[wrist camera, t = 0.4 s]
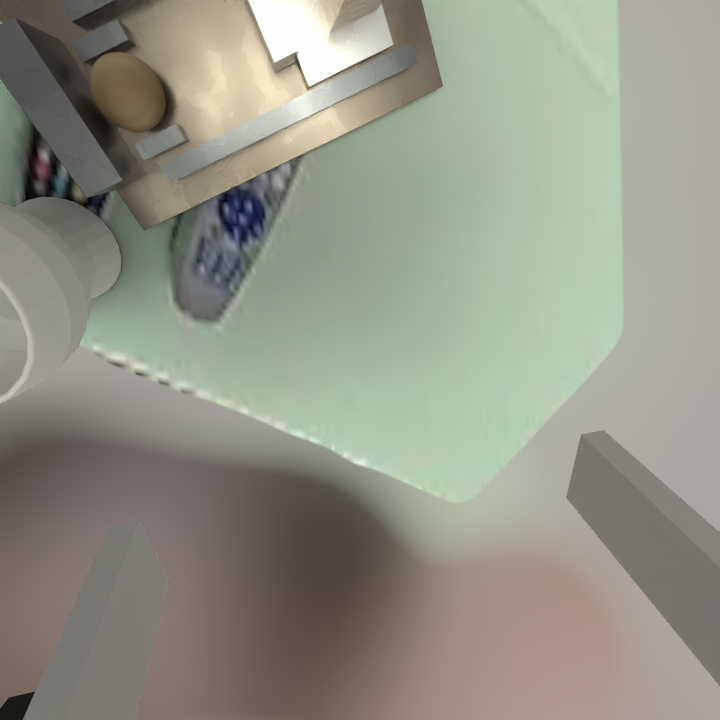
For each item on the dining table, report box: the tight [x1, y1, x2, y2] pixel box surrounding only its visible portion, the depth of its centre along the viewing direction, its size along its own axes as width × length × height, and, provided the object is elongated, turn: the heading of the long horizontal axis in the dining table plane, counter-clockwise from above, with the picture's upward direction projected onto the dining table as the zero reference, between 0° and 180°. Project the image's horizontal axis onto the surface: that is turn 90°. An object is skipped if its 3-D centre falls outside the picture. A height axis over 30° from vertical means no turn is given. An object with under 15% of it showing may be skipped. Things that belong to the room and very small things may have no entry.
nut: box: [89, 52, 166, 132], centre depth 24 cm, size 4×4×4 cm
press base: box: [0, 0, 443, 230], centre depth 24 cm, size 14×24×6 cm, turn 112°
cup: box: [0, 197, 121, 404], centre depth 24 cm, size 11×11×15 cm
